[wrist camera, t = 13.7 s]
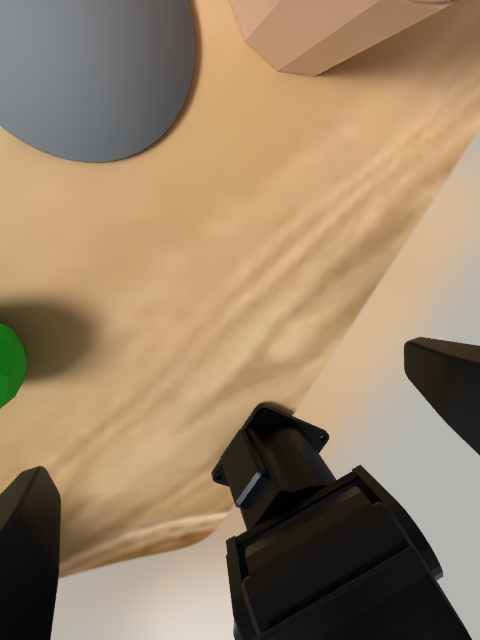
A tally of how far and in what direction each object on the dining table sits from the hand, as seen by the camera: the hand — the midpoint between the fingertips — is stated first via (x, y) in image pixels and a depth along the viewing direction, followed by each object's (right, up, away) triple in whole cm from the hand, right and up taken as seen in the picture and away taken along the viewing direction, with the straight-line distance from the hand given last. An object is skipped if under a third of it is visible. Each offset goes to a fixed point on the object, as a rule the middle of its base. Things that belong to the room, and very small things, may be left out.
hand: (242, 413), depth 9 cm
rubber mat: (-7, +14, +7) cm, 17 cm away
